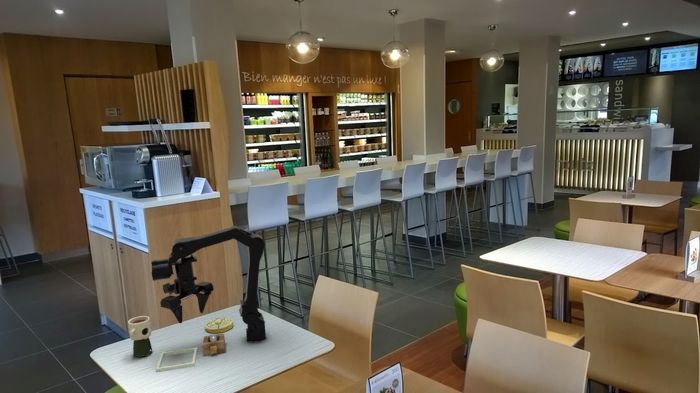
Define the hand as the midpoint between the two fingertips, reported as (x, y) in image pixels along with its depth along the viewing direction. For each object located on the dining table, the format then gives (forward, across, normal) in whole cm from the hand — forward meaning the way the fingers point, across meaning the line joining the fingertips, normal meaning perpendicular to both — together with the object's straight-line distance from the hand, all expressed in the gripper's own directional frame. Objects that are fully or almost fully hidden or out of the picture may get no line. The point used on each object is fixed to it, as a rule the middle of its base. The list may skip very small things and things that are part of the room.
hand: (191, 317), depth 166 cm
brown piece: (+12, -3, +6) cm, 14 cm away
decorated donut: (+14, -17, -6) cm, 23 cm away
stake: (+13, -3, +6) cm, 15 cm away
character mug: (+12, +10, -16) cm, 23 cm away
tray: (+13, +8, +1) cm, 15 cm away
